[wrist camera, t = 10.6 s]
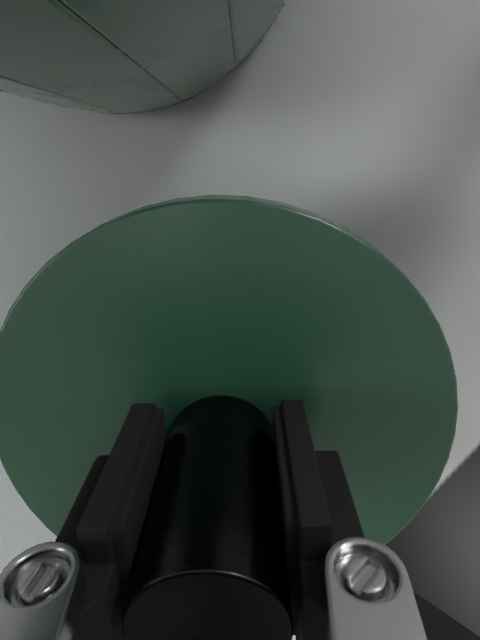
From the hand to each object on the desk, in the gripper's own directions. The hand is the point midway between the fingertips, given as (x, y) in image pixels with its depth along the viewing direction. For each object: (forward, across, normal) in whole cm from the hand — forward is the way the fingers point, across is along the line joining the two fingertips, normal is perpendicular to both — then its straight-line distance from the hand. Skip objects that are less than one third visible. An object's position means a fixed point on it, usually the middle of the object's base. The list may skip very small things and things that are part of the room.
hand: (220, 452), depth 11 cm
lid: (+2, 0, 0) cm, 2 cm away
